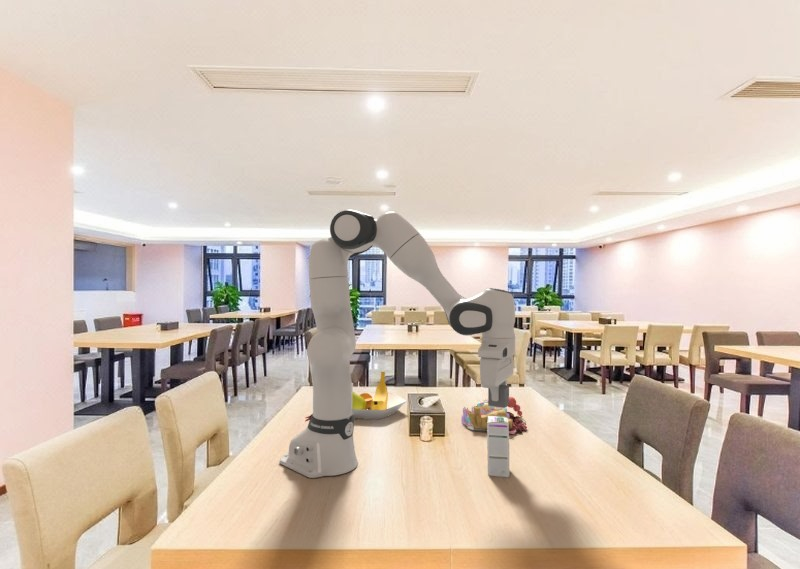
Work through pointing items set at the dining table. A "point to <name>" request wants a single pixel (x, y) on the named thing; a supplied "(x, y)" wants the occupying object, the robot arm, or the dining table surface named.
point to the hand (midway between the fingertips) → (498, 398)
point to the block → (500, 397)
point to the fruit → (375, 402)
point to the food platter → (481, 412)
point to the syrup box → (498, 446)
